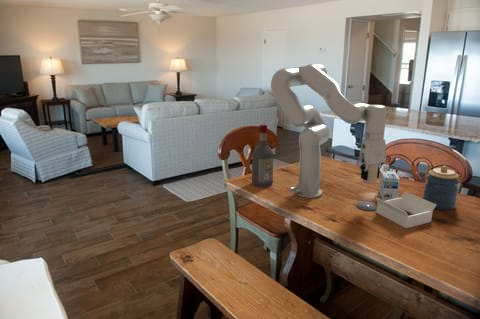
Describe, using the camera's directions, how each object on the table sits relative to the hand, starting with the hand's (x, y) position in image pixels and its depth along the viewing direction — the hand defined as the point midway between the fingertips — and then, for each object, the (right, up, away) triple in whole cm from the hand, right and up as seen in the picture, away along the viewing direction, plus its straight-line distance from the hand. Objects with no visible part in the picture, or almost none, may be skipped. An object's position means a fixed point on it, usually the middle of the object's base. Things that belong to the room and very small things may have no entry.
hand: (369, 177), depth 152 cm
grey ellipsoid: (0, -13, +4) cm, 13 cm away
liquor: (-43, -5, +31) cm, 53 cm away
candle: (0, -2, +1) cm, 2 cm away
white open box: (+11, -15, -6) cm, 20 cm away
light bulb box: (+13, -9, +15) cm, 22 cm away
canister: (+32, -12, +6) cm, 35 cm away
